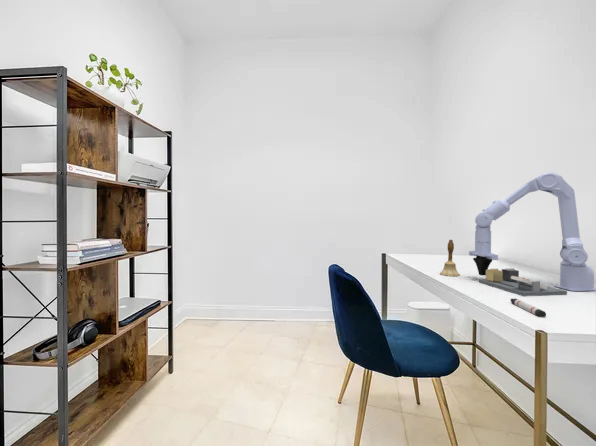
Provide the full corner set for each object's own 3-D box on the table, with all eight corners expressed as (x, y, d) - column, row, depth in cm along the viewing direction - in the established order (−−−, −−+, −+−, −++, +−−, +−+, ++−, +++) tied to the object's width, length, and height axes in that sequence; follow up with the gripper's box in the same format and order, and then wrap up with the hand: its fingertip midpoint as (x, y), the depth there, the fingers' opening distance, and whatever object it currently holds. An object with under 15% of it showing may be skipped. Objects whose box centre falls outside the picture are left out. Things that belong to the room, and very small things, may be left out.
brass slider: (494, 279, 129) (494, 267, 129) (502, 281, 125) (502, 269, 125) (485, 279, 129) (485, 268, 129) (493, 281, 125) (493, 269, 125)
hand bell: (448, 272, 153) (449, 238, 152) (464, 275, 145) (464, 240, 145) (435, 273, 149) (436, 239, 149) (451, 277, 142) (451, 240, 141)
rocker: (533, 286, 117) (534, 283, 117) (546, 289, 111) (548, 286, 111) (510, 278, 115) (511, 275, 115) (522, 281, 110) (523, 278, 110)
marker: (546, 318, 87) (546, 310, 87) (538, 318, 87) (538, 310, 87) (513, 302, 102) (514, 296, 102) (507, 302, 102) (507, 296, 102)
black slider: (510, 278, 130) (510, 267, 130) (518, 280, 126) (518, 269, 126) (501, 279, 130) (501, 267, 129) (509, 281, 126) (509, 269, 126)
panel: (515, 281, 133) (515, 270, 133) (566, 294, 111) (567, 281, 111) (478, 282, 130) (478, 271, 130) (523, 296, 109) (524, 282, 109)
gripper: (462, 240, 140) (462, 272, 140) (486, 243, 125) (486, 278, 126) (477, 240, 141) (477, 271, 141) (503, 243, 126) (502, 278, 127)
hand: (482, 275), depth 133 cm, fingers closed
